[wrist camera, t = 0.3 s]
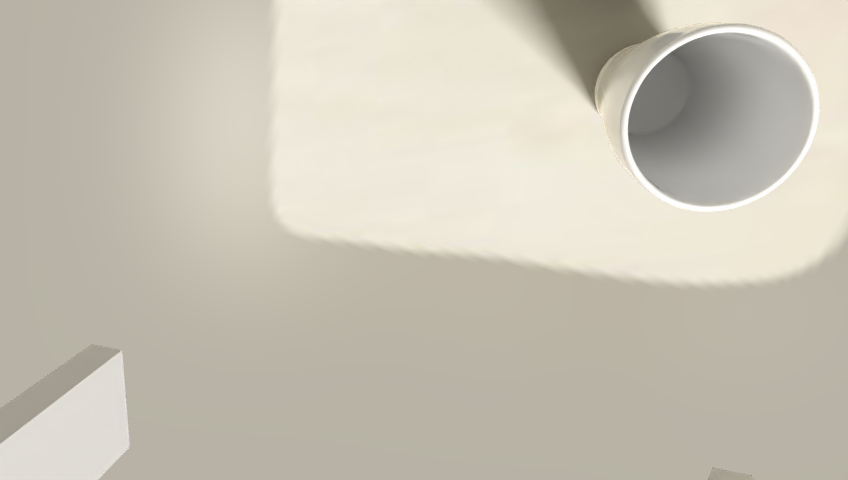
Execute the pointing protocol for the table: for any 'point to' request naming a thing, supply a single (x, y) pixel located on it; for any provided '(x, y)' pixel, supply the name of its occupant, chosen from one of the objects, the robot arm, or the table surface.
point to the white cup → (709, 113)
